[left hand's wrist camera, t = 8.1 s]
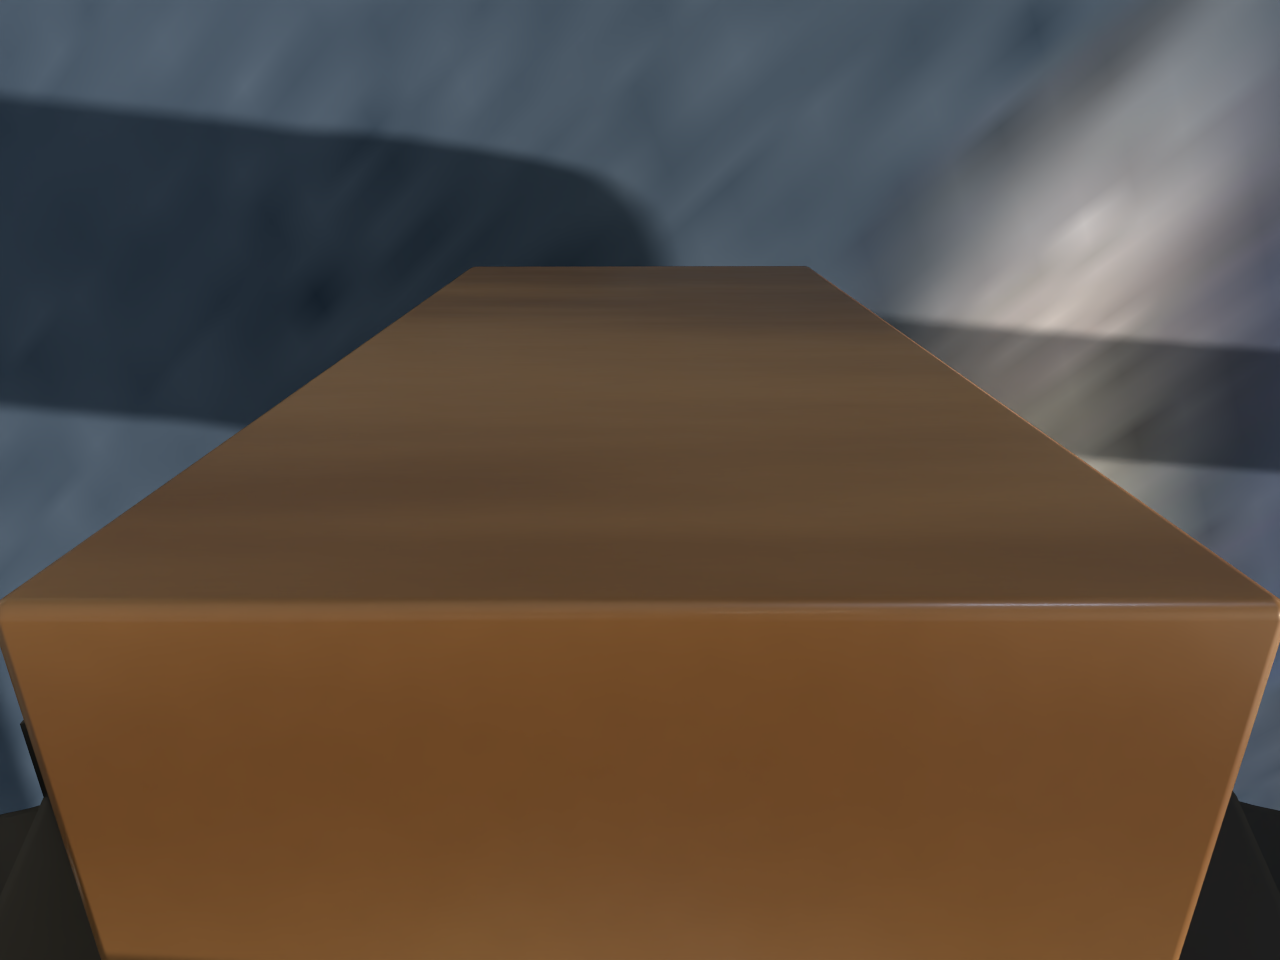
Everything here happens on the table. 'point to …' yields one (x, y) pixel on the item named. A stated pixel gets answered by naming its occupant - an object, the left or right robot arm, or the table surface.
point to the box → (639, 655)
